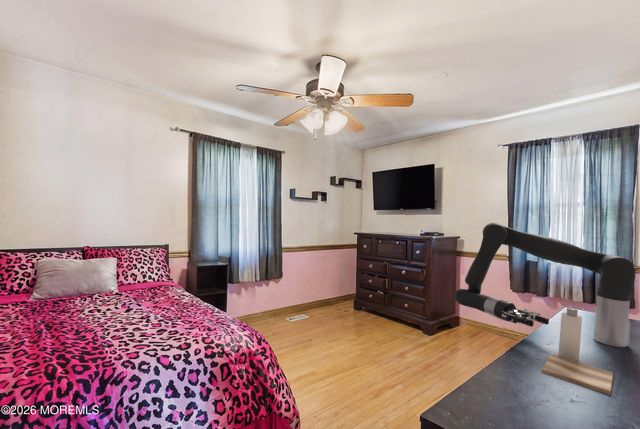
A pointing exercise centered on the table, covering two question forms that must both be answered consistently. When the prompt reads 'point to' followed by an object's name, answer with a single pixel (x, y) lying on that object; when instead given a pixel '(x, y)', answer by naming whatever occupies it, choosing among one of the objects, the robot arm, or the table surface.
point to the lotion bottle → (570, 335)
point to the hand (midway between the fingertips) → (540, 322)
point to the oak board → (579, 373)
